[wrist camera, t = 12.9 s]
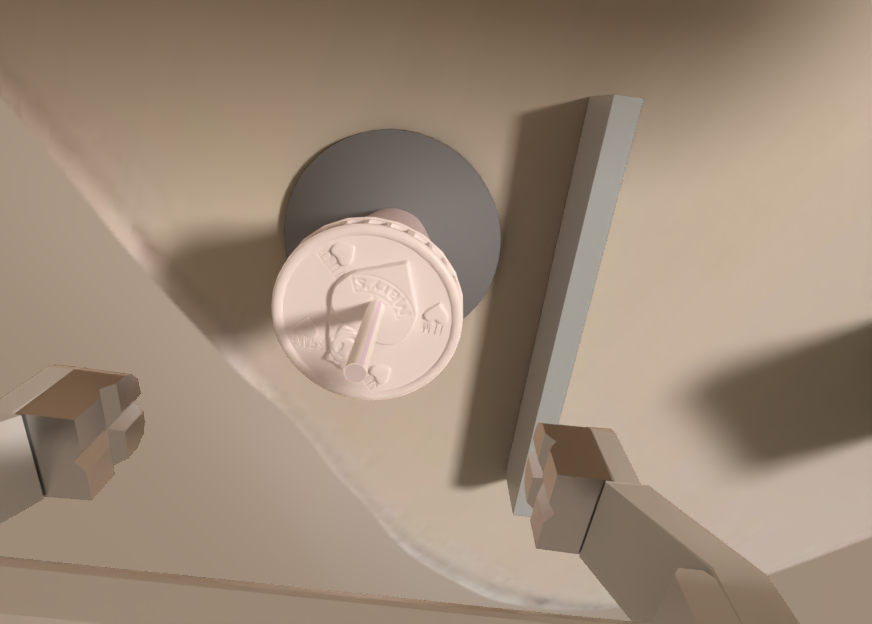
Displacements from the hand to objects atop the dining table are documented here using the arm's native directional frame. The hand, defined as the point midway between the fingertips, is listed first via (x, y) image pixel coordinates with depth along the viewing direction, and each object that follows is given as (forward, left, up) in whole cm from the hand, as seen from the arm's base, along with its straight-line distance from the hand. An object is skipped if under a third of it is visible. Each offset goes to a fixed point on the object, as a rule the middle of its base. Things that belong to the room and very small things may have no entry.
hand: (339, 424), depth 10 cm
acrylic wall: (+3, +9, -16) cm, 19 cm away
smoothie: (0, 0, -16) cm, 16 cm away
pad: (0, 0, -16) cm, 16 cm away
